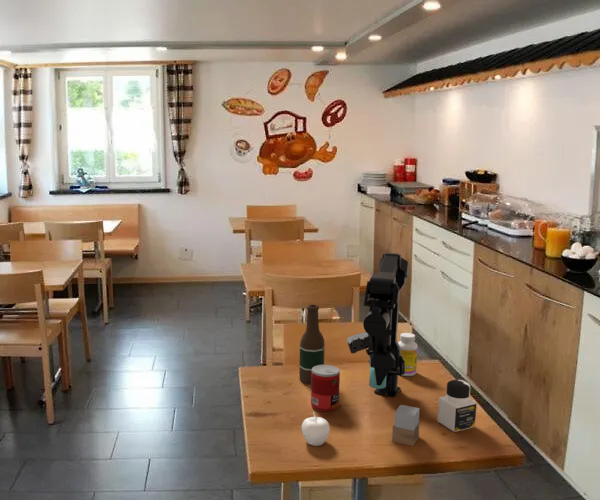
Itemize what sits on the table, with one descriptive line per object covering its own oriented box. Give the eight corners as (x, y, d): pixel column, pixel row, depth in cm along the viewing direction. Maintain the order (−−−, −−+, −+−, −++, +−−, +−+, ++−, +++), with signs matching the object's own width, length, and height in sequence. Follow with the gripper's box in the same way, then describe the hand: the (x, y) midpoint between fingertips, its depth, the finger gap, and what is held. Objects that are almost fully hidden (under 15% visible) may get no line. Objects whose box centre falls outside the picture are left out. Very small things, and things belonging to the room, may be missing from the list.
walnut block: (397, 432, 169) (398, 418, 168) (418, 437, 167) (419, 422, 166) (391, 441, 164) (392, 427, 164) (413, 446, 162) (414, 431, 161)
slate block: (399, 419, 168) (400, 404, 167) (418, 422, 166) (419, 408, 165) (394, 427, 164) (395, 412, 163) (413, 431, 162) (414, 416, 161)
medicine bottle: (454, 432, 169) (457, 389, 167) (436, 421, 176) (439, 379, 173) (475, 427, 173) (478, 384, 170) (457, 416, 179) (460, 375, 177)
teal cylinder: (368, 382, 174) (369, 364, 173) (384, 382, 174) (385, 364, 173) (370, 388, 169) (370, 370, 169) (386, 388, 169) (387, 370, 168)
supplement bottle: (417, 377, 206) (419, 338, 204) (396, 376, 207) (398, 338, 204) (415, 369, 213) (416, 332, 210) (394, 368, 213) (396, 331, 211)
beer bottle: (308, 373, 208) (309, 300, 204) (328, 379, 204) (330, 305, 199) (294, 380, 202) (295, 306, 197) (314, 386, 198) (316, 310, 193)
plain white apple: (309, 433, 168) (310, 404, 166) (334, 440, 164) (335, 411, 163) (295, 444, 162) (296, 414, 160) (320, 452, 158) (321, 421, 157)
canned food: (336, 413, 180) (337, 375, 178) (308, 410, 181) (309, 373, 179) (340, 402, 187) (341, 365, 185) (313, 399, 189) (314, 363, 186)
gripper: (347, 314, 178) (345, 368, 181) (351, 335, 159) (349, 395, 162) (387, 315, 178) (385, 369, 181) (397, 336, 159) (394, 396, 162)
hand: (377, 381), depth 171 cm, fingers closed on teal cylinder, 4 cm apart
